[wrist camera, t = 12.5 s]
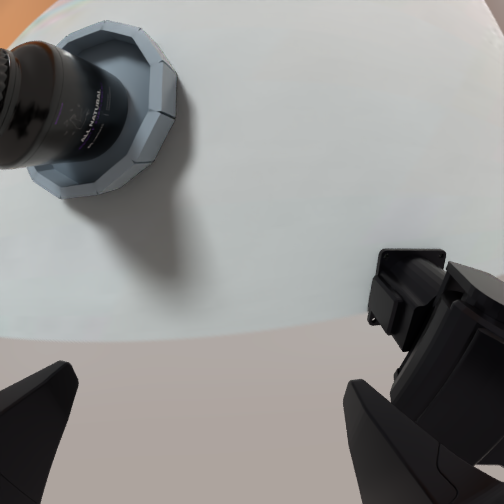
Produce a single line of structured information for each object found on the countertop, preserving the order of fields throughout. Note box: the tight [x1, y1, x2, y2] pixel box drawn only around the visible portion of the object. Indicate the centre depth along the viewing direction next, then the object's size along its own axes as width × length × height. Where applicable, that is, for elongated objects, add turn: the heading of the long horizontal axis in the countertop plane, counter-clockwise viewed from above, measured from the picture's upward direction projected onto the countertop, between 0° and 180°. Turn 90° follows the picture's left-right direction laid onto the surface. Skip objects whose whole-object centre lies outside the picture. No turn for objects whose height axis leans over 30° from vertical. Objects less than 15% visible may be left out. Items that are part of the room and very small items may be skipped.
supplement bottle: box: [0, 41, 128, 170], centre depth 10 cm, size 7×7×12 cm
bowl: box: [27, 20, 177, 199], centre depth 15 cm, size 13×13×3 cm
